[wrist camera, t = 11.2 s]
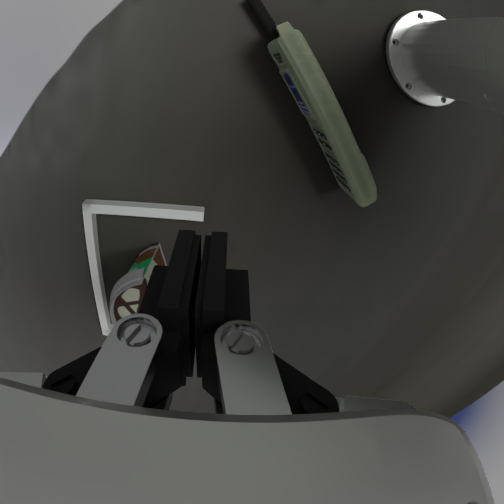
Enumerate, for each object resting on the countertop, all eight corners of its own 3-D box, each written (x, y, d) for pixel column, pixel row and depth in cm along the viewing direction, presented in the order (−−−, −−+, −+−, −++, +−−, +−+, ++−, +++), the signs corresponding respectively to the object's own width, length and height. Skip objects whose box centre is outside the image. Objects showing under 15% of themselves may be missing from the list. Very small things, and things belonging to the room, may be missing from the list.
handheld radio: (336, 189, 39) (234, 6, 26) (359, 177, 38) (262, -7, 26) (357, 211, 33) (239, -10, 21) (383, 197, 32) (272, -24, 20)
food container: (113, 240, 40) (88, 286, 31) (156, 232, 40) (139, 279, 31) (142, 310, 46) (129, 361, 38) (181, 305, 46) (173, 358, 38)
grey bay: (204, 206, 38) (203, 212, 37) (196, 338, 50) (196, 344, 49) (86, 199, 36) (81, 203, 35) (105, 328, 48) (103, 334, 47)
